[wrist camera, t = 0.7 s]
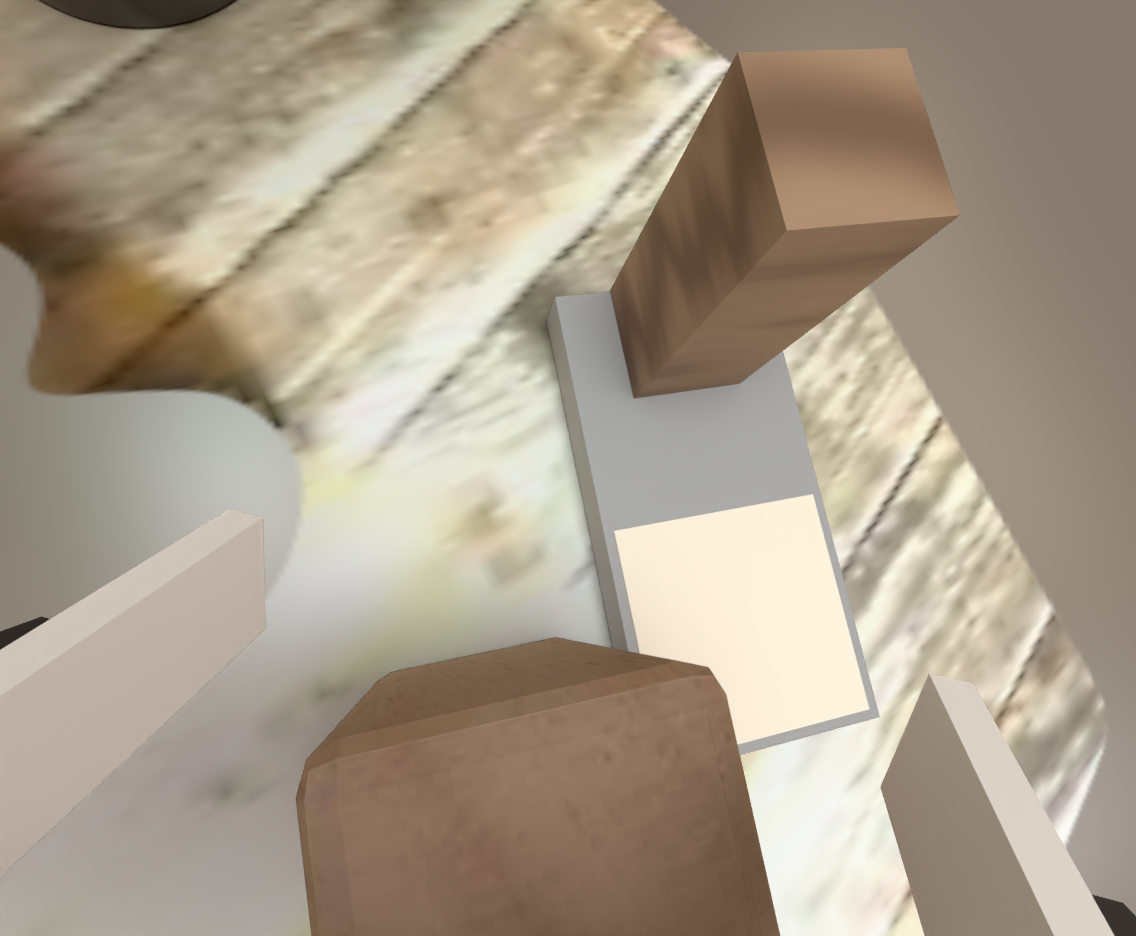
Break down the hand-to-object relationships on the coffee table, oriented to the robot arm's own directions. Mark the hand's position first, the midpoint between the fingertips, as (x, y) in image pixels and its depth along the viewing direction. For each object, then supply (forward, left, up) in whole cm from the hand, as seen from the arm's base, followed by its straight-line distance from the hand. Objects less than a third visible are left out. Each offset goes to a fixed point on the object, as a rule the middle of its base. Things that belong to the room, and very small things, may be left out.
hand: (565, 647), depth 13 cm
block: (+6, -1, -22) cm, 23 cm away
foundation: (-4, +12, -22) cm, 25 cm away
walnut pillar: (-13, +12, -19) cm, 26 cm away
